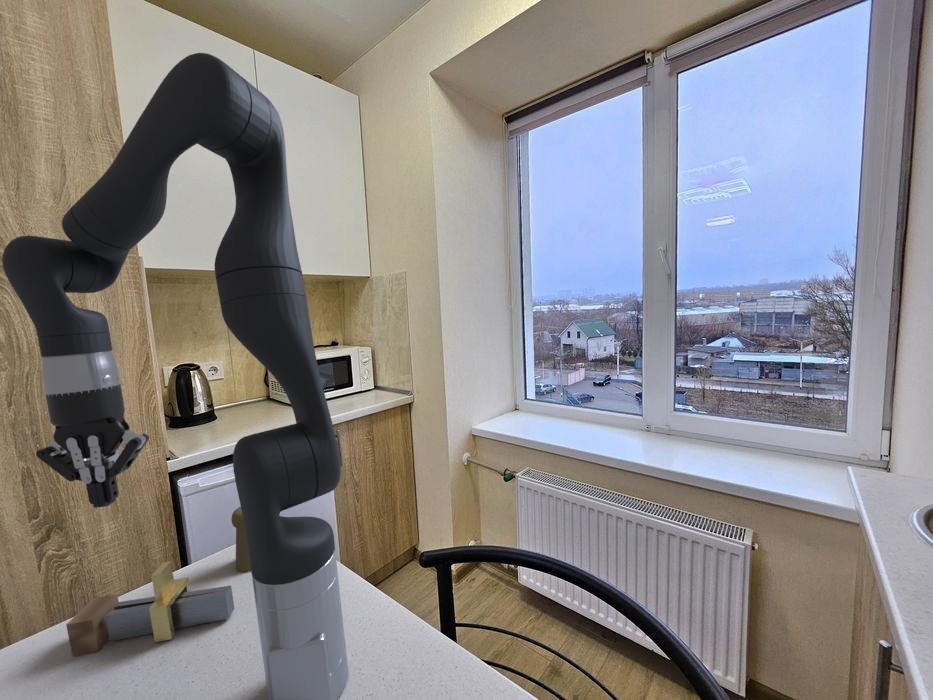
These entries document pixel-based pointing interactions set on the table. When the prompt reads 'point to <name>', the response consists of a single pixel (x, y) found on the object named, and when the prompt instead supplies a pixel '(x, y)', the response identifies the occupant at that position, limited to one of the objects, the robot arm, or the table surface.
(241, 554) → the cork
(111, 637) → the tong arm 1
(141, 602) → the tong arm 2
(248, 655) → the table surface
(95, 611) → the block
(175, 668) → the table surface
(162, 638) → the collar
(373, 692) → the table surface
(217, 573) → the table surface
